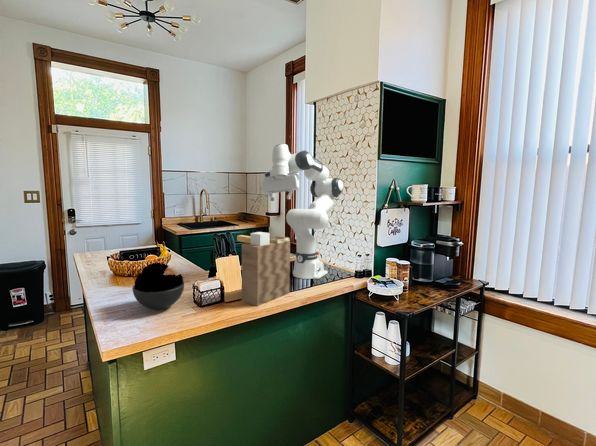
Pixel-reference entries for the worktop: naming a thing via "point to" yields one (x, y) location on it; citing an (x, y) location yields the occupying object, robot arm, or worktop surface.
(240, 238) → the mallet
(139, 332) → the worktop surface
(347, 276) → the worktop surface
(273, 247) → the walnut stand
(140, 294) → the dark grey bowl
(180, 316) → the worktop surface
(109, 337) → the worktop surface
